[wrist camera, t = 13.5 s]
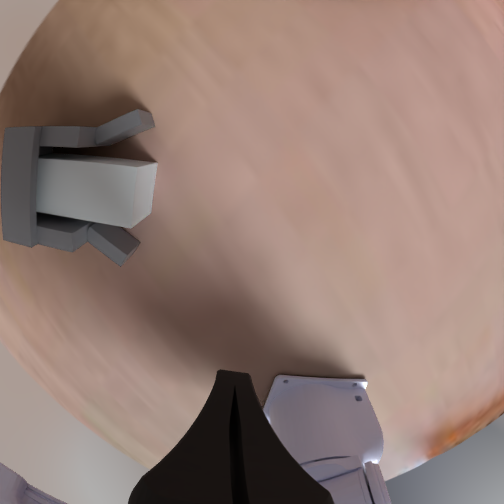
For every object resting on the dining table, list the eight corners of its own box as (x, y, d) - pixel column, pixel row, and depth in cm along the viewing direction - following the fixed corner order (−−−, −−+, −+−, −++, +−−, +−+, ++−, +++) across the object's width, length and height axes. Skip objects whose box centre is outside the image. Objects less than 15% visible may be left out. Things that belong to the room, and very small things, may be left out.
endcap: (157, 113, 17) (126, 103, 12) (139, 253, 20) (110, 287, 15) (47, 111, 16) (2, 108, 11) (39, 232, 19) (0, 255, 14)
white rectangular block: (158, 162, 18) (137, 167, 14) (151, 212, 19) (131, 228, 15) (54, 152, 17) (22, 157, 13) (51, 196, 18) (20, 208, 15)
